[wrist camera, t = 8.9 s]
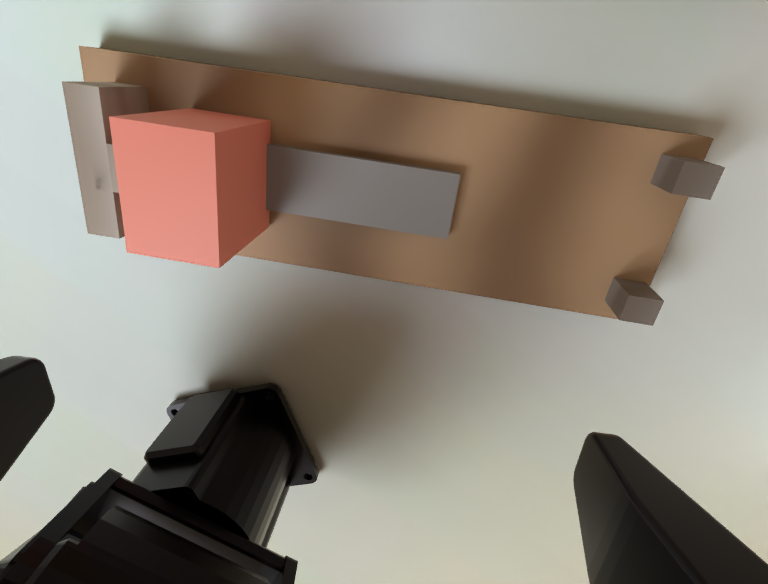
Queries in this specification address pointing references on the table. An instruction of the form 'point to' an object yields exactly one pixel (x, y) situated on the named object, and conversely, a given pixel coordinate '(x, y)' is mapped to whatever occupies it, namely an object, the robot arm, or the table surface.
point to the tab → (254, 186)
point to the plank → (439, 151)
